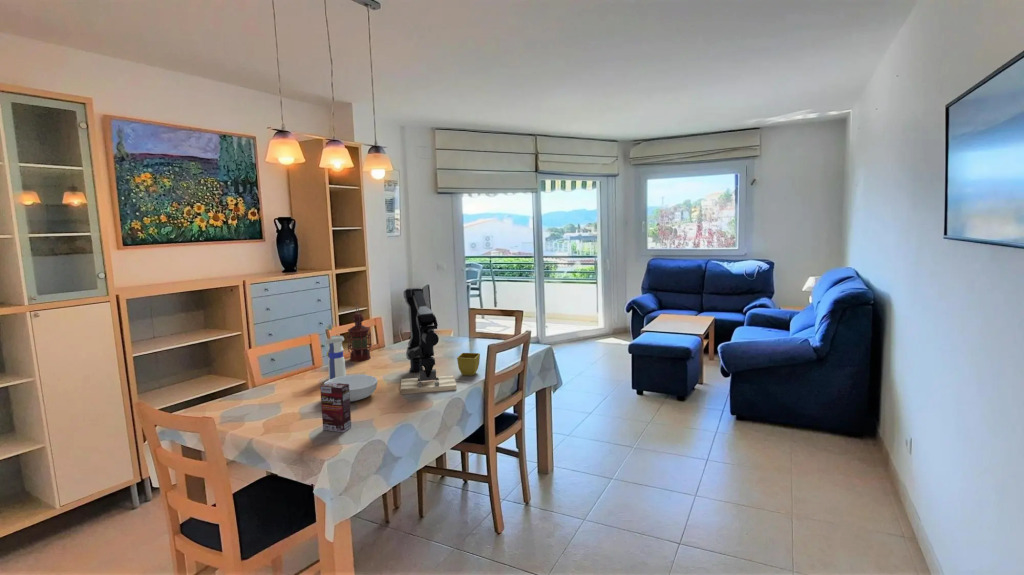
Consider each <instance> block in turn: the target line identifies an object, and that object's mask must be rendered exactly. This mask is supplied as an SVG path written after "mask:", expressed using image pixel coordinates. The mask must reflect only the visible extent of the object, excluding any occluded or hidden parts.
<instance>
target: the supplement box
mask: <svg viewBox="0 0 1024 575" xmlns="http://www.w3.org/2000/svg"><path fill="white" fill-rule="evenodd" d="M324 383H325V382H324ZM324 383H323V384H321V385H320V386H319V389H320V402H321V405H320V406H321V415H322V431H332V432H340V433H346V432H347V431H348V430H349V429H351V428H352V416H351V402H350V393H349V384H342V383H330V382H327V383H325V384H324Z"/></svg>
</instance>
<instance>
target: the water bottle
mask: <svg viewBox="0 0 1024 575" xmlns="http://www.w3.org/2000/svg"><path fill="white" fill-rule="evenodd" d="M333 327H334V325H331V323H329V324H328V326H326V328H327V331H328V332H329V331H332V330H333ZM344 341H345V338H344V335H331V336H330V338H327V337H326V338H325V344H326V345H328V348H327V352H326V356H327V358H328V359H327V360H328V361H327V362H328V363H327V364H328V365H327V366H328V380H330V379H333V378H336V377H340V376H346V375H347V371H346V362H345V361H346V360H345V357H344V350H345V349H344V347H343V342H344Z"/></svg>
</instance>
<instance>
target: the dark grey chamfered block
mask: <svg viewBox="0 0 1024 575" xmlns="http://www.w3.org/2000/svg"><path fill="white" fill-rule="evenodd" d="M436 378H437V369H436V368H433V369H432V371H431V374H430V377H427V376H426V372H425V369H424V370H420V372H419V379H420V380H428V379H436ZM428 381H429V380H428Z"/></svg>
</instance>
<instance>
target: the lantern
mask: <svg viewBox="0 0 1024 575" xmlns="http://www.w3.org/2000/svg"><path fill="white" fill-rule="evenodd" d="M355 304H357V305H355V310H356V312H355V313H354V314H353V316H352V319H351V320H352V322H353V323H354V324H355V325H354V326H352V327H350V328H348V329H347V332H348V334H347V335H346V336H347V337H346V340H347V351H348V353H349V354H350V357H349V360H350V361H352V362H363V361H369V360H370V359H371V358H372V357H371V352H370V351H371V349H372V346H373V345H372V334H371V332H370V330H371V329H370V327H368V326H365V325H363V322H364V319H365V318H364V316H363V314H362V313H361V312H360V304H359V302H357V301H356V302H355ZM350 350H351V351H350Z"/></svg>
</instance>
